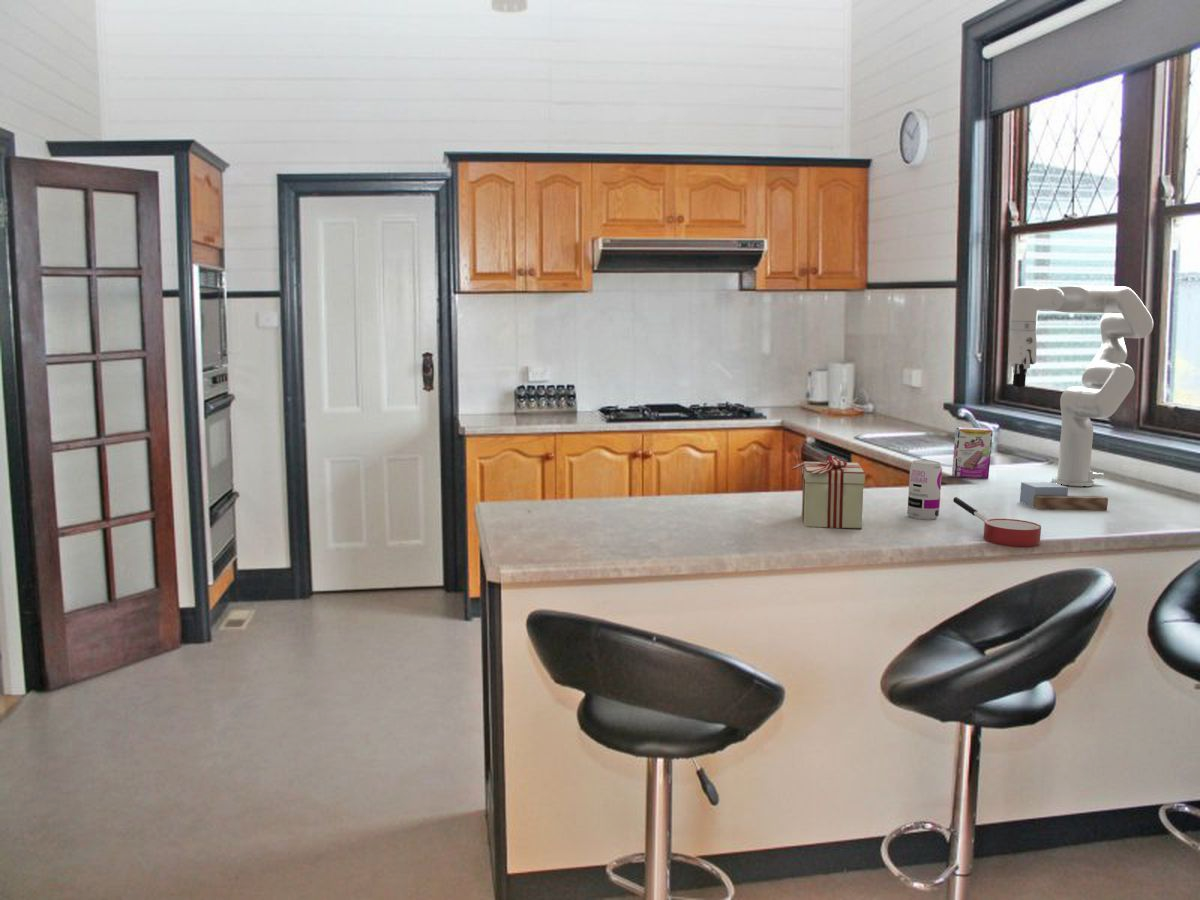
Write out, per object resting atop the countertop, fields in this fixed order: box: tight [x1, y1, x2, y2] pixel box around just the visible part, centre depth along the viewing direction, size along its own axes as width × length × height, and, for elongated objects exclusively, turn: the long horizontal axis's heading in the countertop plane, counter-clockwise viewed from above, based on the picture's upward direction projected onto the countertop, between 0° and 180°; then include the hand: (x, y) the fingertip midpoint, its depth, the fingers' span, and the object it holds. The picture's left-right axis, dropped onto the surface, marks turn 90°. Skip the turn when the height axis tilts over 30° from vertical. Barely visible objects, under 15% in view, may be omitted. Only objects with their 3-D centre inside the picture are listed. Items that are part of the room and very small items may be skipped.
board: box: [1032, 494, 1109, 511], centre depth 312 cm, size 20×4×4 cm, turn 93°
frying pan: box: [952, 496, 1042, 548], centre depth 276 cm, size 32×13×6 cm, turn 19°
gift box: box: [790, 454, 866, 529], centre depth 283 cm, size 17×18×17 cm
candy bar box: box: [951, 426, 994, 480], centre depth 362 cm, size 11×5×16 cm, turn 84°
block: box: [1019, 481, 1069, 507], centre depth 317 cm, size 10×8×6 cm
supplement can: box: [906, 459, 943, 521], centre depth 294 cm, size 8×8×15 cm
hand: (1018, 386), depth 339 cm, fingers closed
